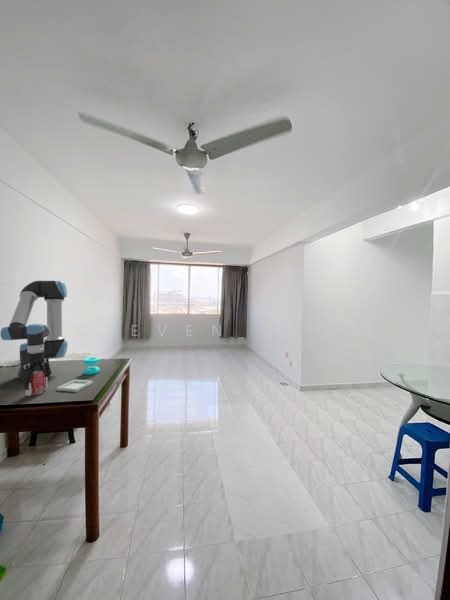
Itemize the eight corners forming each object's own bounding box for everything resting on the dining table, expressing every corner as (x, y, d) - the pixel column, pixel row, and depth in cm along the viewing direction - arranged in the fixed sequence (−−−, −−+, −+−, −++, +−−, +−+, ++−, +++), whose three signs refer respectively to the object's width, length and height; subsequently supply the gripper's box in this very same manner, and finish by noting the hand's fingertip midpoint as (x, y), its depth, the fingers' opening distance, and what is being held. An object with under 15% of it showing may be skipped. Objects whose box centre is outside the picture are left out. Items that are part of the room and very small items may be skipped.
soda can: (34, 391, 144) (34, 370, 143) (47, 390, 144) (47, 370, 144) (26, 396, 137) (25, 374, 136) (39, 395, 137) (39, 374, 137)
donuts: (80, 360, 171) (89, 356, 181) (80, 374, 171) (89, 370, 181) (93, 360, 170) (102, 357, 180) (94, 375, 170) (102, 370, 180)
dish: (56, 390, 144) (56, 387, 144) (74, 382, 157) (74, 379, 157) (76, 392, 142) (76, 389, 142) (92, 383, 155) (92, 381, 155)
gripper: (22, 357, 128) (23, 400, 129) (58, 347, 150) (59, 384, 151) (10, 356, 129) (11, 399, 130) (47, 347, 151) (48, 383, 152)
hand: (37, 391), depth 140 cm, fingers open, 9 cm apart
